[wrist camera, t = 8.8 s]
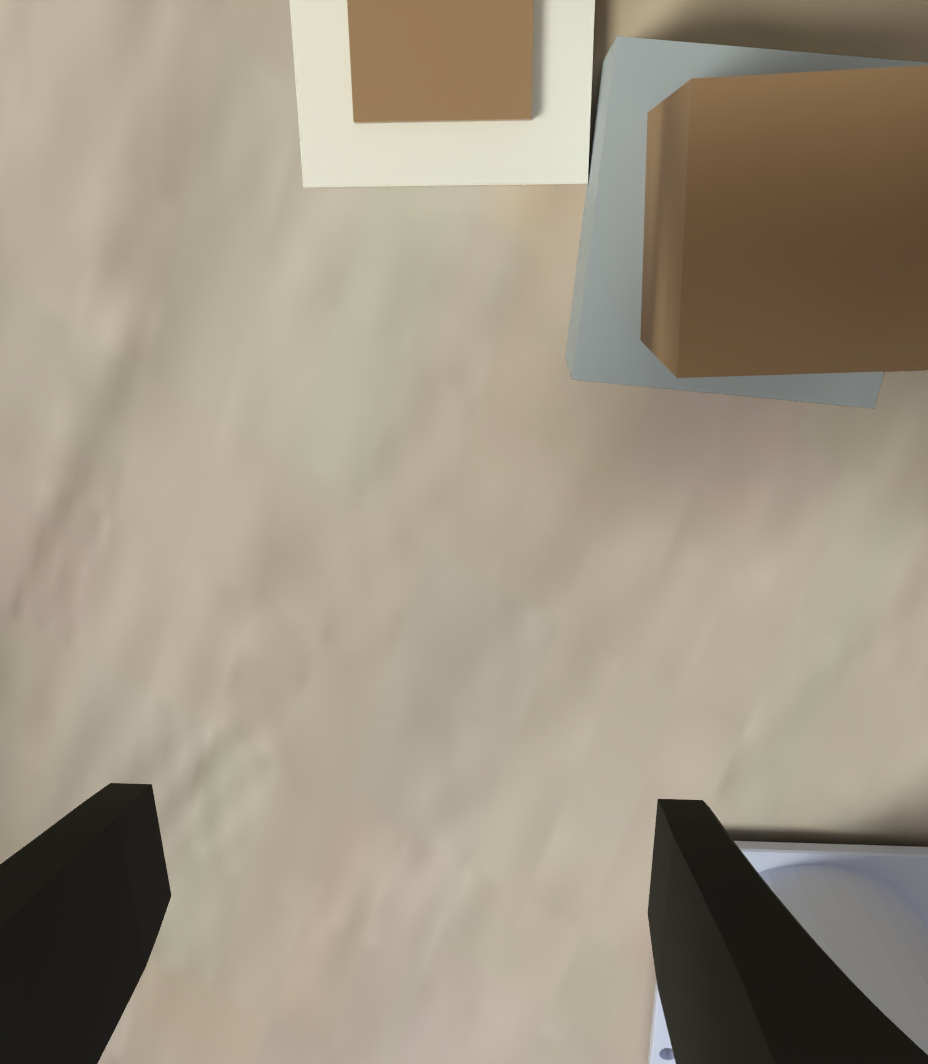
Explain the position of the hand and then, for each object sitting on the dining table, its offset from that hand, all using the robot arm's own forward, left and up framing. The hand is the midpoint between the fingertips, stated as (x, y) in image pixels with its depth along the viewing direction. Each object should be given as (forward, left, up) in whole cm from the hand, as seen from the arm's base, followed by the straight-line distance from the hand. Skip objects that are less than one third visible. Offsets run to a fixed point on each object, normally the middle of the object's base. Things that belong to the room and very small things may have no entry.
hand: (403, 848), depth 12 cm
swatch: (+12, 0, -10) cm, 16 cm away
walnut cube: (+8, -6, -7) cm, 12 cm away
